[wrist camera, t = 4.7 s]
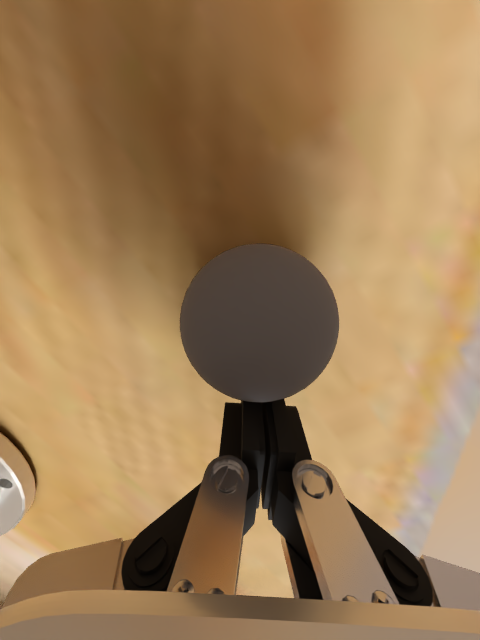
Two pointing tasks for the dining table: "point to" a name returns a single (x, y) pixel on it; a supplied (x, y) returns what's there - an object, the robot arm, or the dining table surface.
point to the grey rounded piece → (259, 322)
